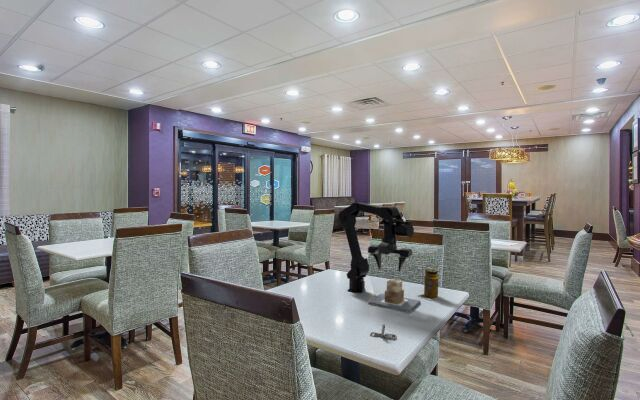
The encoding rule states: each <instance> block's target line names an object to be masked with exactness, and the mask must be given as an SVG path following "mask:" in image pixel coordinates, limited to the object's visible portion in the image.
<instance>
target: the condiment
mask: <svg viewBox="0 0 640 400" xmlns="http://www.w3.org/2000/svg"><path fill="white" fill-rule="evenodd" d="M438 274H439V273H438V270H436V269H426V270H425V275H424V282H423V285H424V286H423V288H424V289H423V293H422V294H418V295H416V296H417V297H420V298H422V299H424V300H428V301H432V300H437V299H440V298H442V296H440V295H439V277H438Z"/></svg>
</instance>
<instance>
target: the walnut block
mask: <svg viewBox="0 0 640 400" xmlns="http://www.w3.org/2000/svg"><path fill="white" fill-rule="evenodd" d="M384 294H385V301H384V302H388V303H393V304H399V303H401V302H402V301H403V300H404V298H405V289H403V288H402V290H401V291H400V292H398V293H396V292H390V291H387V289H386V290H385V291H384Z"/></svg>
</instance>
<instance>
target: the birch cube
mask: <svg viewBox="0 0 640 400" xmlns="http://www.w3.org/2000/svg"><path fill="white" fill-rule="evenodd" d="M402 289H403V280H401V279H394V278H393V279H392V278H391V279H388V280H387V281H386V290H387V291H390V292H396V293H398V292H400V291H401V290H402Z"/></svg>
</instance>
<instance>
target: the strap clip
mask: <svg viewBox="0 0 640 400" xmlns="http://www.w3.org/2000/svg"><path fill="white" fill-rule="evenodd" d="M381 327H382V328H381V333H380V332H373V331H372V332H371V333H370V334H369V336H370V337H374V338H379V337H380V338H384V339H385V338H386V339H385V340H391V339H393V340H392V341H396V340H395V339H397V338H396V337H397V335H396V334H393V333H387V332H386V333H385V329H386V324H385V323H382V324H381ZM374 333H375V334H374ZM393 336H394V337H393Z"/></svg>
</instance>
